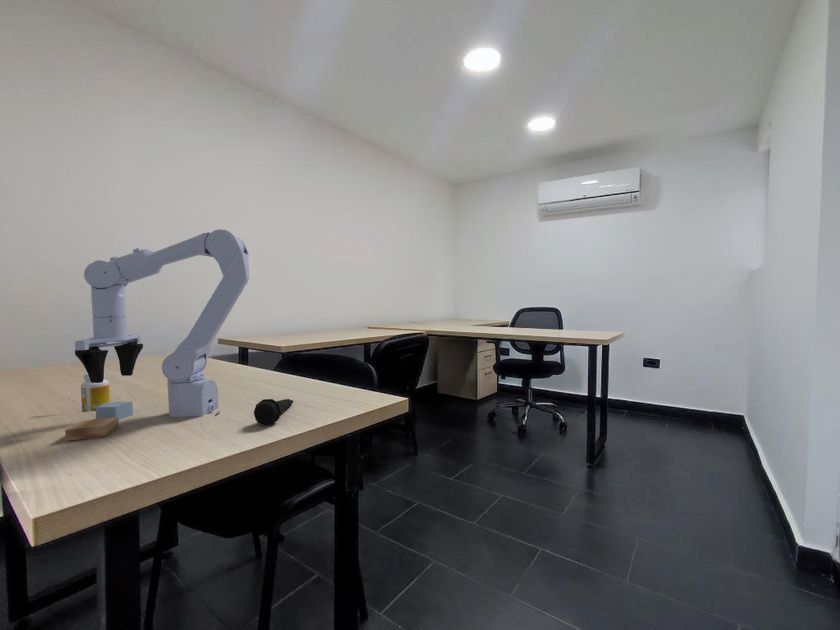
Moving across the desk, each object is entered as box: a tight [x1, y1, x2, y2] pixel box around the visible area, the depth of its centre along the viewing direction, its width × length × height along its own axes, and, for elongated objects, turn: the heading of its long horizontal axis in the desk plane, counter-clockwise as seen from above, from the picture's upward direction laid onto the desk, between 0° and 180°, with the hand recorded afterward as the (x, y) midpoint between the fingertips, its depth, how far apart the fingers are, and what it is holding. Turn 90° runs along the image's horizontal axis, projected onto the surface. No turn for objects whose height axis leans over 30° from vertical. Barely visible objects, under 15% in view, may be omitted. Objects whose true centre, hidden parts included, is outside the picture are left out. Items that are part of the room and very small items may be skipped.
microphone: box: [253, 398, 294, 425], centre depth 90 cm, size 6×6×20 cm
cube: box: [95, 401, 134, 421], centre depth 85 cm, size 4×4×4 cm
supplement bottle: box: [80, 371, 111, 413], centre depth 95 cm, size 5×5×10 cm
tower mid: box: [64, 417, 120, 442], centre depth 74 cm, size 6×6×2 cm
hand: (112, 378), depth 84 cm, fingers open, 7 cm apart
